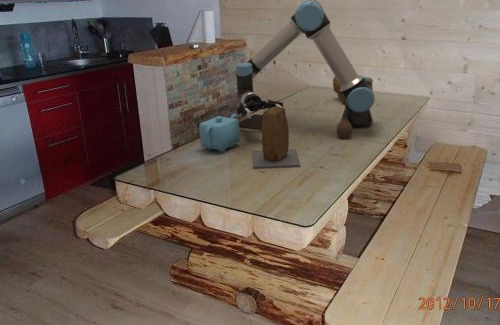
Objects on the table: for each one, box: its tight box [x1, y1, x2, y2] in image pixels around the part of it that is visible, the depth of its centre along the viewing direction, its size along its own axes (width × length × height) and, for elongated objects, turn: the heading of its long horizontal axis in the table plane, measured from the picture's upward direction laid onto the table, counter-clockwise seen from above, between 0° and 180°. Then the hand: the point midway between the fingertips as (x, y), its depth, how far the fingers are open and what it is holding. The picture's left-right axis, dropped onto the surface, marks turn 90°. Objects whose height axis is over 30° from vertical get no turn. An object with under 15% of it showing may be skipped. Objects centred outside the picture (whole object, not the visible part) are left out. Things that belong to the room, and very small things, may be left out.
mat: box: [252, 148, 301, 170], centre depth 179 cm, size 18×18×1 cm
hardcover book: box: [239, 113, 263, 134], centre depth 225 cm, size 16×23×2 cm
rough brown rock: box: [332, 76, 374, 105], centre depth 257 cm, size 23×17×15 cm
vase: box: [336, 117, 353, 140], centre depth 200 cm, size 7×7×9 cm
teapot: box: [198, 113, 240, 153], centre depth 194 cm, size 22×11×14 cm, turn 147°
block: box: [261, 107, 290, 161], centre depth 176 cm, size 11×8×20 cm
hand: (266, 112), depth 182 cm, fingers open, 13 cm apart
